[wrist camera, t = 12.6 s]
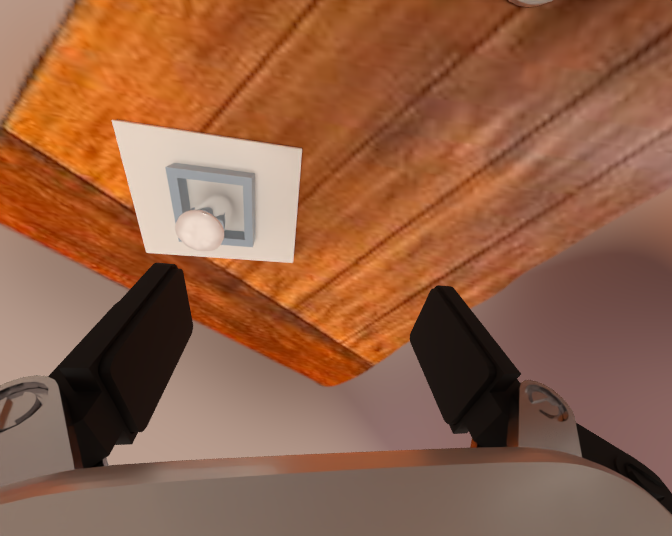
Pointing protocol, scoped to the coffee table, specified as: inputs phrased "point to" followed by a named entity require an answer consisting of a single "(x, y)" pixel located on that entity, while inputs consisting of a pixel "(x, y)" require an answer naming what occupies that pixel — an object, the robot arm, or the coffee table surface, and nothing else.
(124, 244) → the coffee table surface
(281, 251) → the dock
